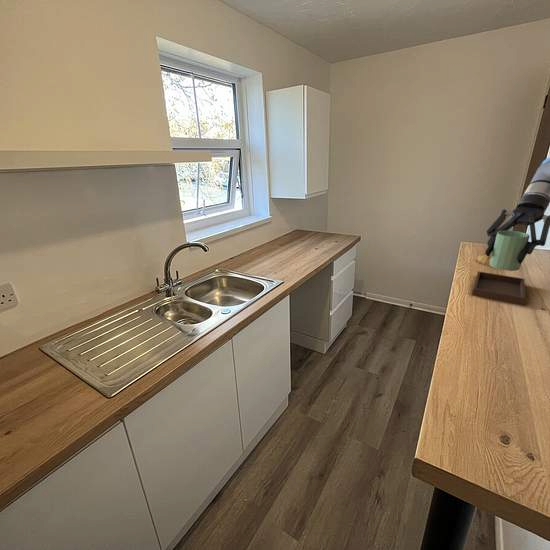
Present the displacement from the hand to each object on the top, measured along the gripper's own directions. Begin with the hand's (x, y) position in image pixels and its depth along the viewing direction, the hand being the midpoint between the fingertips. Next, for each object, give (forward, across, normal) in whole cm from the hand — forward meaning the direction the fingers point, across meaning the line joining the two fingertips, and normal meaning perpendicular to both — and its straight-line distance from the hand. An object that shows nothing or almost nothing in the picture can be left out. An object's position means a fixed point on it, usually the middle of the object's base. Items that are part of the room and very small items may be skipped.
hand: (502, 257), depth 96 cm
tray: (+7, 0, -11) cm, 13 cm away
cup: (0, 0, -5) cm, 5 cm away
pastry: (-11, +12, -30) cm, 34 cm away
